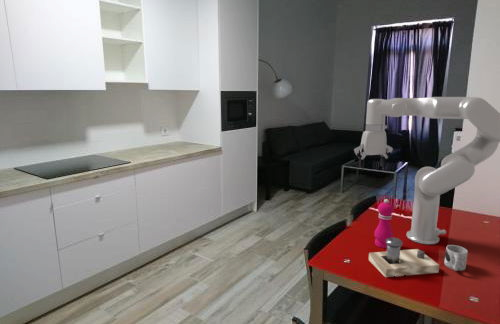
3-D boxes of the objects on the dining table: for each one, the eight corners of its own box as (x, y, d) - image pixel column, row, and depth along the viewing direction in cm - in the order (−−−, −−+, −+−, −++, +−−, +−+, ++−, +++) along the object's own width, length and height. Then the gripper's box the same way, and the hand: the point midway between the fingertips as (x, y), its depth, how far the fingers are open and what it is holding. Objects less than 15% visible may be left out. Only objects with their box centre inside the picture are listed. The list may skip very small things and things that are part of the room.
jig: (417, 256, 127) (418, 244, 126) (438, 272, 115) (440, 259, 114) (368, 260, 124) (369, 247, 123) (385, 277, 112) (386, 264, 111)
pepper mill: (390, 250, 131) (394, 203, 127) (372, 246, 135) (375, 200, 131) (393, 243, 137) (397, 198, 133) (375, 239, 141) (378, 195, 137)
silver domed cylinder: (395, 261, 122) (397, 236, 120) (403, 269, 117) (405, 243, 114) (381, 262, 121) (383, 238, 119) (388, 270, 116) (390, 244, 114)
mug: (444, 259, 124) (446, 243, 122) (465, 264, 121) (467, 247, 119) (444, 272, 115) (446, 254, 114) (466, 277, 112) (469, 259, 111)
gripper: (389, 126, 144) (386, 164, 147) (351, 128, 141) (349, 166, 145) (398, 128, 136) (395, 168, 140) (359, 129, 134) (357, 170, 138)
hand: (372, 167), depth 143 cm, fingers open, 9 cm apart
